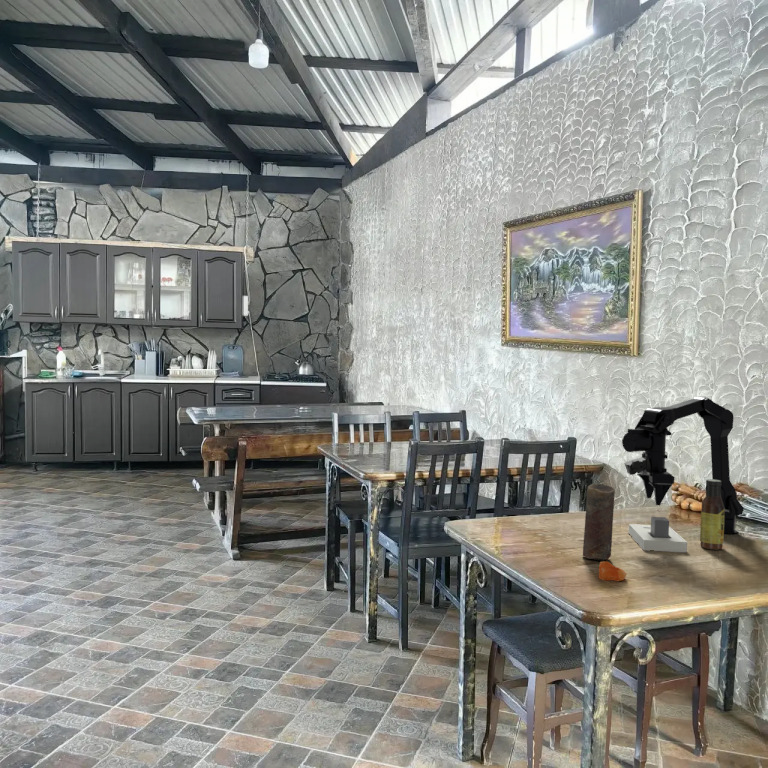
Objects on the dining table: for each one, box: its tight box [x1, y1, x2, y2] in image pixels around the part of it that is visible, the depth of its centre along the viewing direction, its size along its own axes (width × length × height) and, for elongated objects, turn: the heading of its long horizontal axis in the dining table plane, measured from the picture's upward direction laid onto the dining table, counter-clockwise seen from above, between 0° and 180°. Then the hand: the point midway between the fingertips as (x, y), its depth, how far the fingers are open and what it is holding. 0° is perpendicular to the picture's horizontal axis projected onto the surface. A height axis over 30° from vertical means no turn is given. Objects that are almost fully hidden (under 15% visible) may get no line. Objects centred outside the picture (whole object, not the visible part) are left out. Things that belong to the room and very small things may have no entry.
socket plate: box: [627, 523, 688, 553], centre depth 209 cm, size 18×12×3 cm, turn 174°
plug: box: [650, 516, 670, 538], centre depth 206 cm, size 4×4×8 cm
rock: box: [598, 560, 628, 582], centre depth 176 cm, size 12×12×4 cm
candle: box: [582, 483, 616, 562], centre depth 191 cm, size 8×7×20 cm
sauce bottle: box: [699, 478, 725, 551], centre depth 205 cm, size 7×6×20 cm
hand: (653, 501), depth 212 cm, fingers open, 9 cm apart
